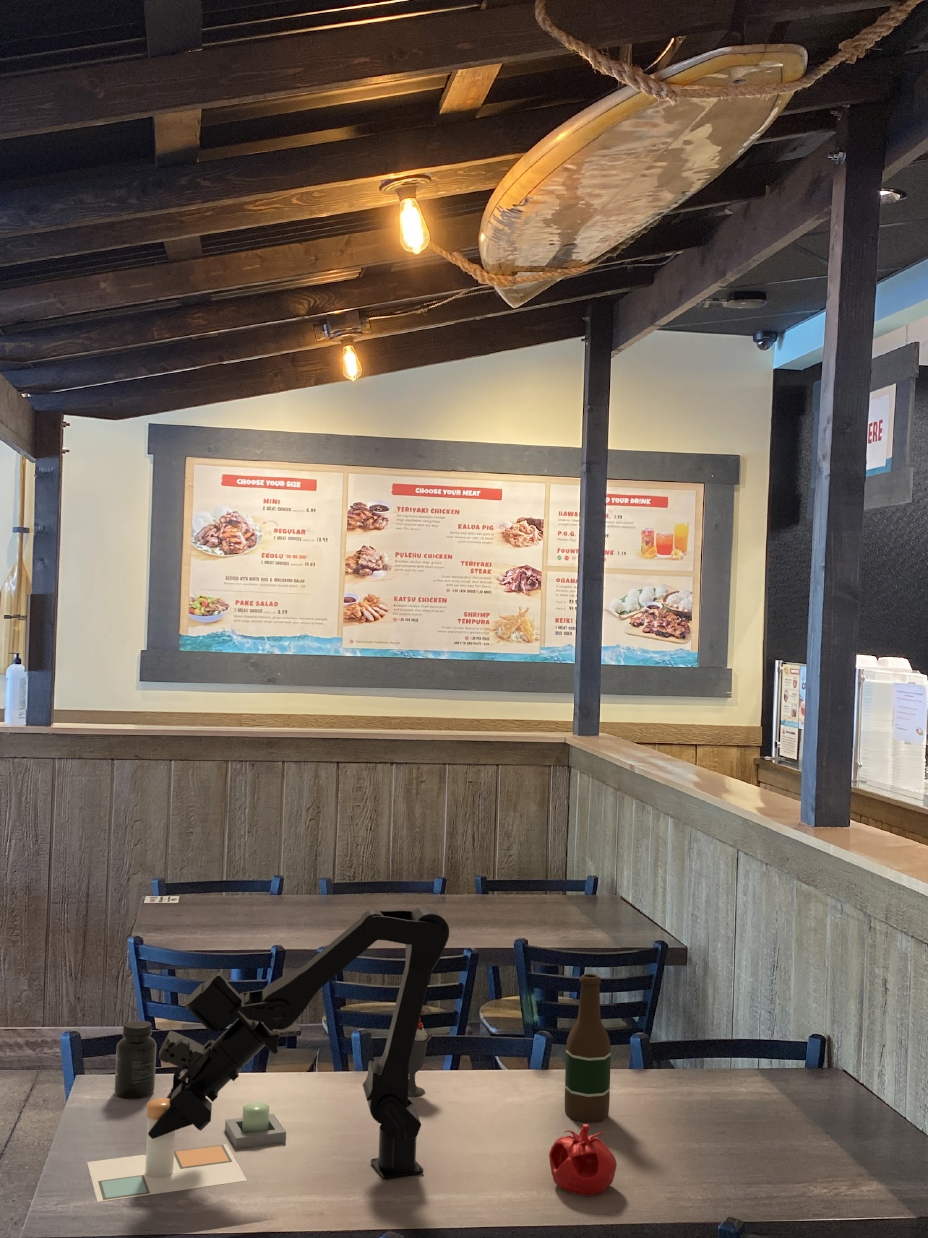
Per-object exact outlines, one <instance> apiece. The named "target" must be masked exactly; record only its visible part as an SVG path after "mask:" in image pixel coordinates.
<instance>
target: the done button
mask: <svg viewBox="0 0 928 1238" xmlns="http://www.w3.org/2000/svg"><path fill="white" fill-rule="evenodd" d="M269 1114H270V1105H269V1104H267V1103H264V1102H250V1103H246V1104H245V1105H243V1107H242V1118H243V1119H242V1133H243V1134H246V1133H254V1132H262V1131H269Z"/></svg>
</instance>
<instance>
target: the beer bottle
mask: <svg viewBox="0 0 928 1238" xmlns="http://www.w3.org/2000/svg"><path fill="white" fill-rule="evenodd" d="M579 983H580V993H579V1003H578V1005H579V1006H578V1014H577V1019H576V1022H575V1023H574V1025H573V1026H572V1027H571V1029H570V1031H569V1034H568V1037H567V1038H566V1047H565V1069H564V1070H565V1073H564V1074H565V1075H564V1076H565V1077H564V1078H565V1080H564V1112H565V1114H566V1115H567V1116H568V1118H570V1120H573V1121H576V1122H577V1121H578V1122H582V1123H584V1124H589V1123H601V1122H603V1121H604V1120H605V1119H606V1118H607V1117H608V1116H609V1112H610V1098H611V1097H610V1096H611V1095H610V1094H611V1093H610V1092H611V1091H610V1089H611V1062H612V1061H611V1055H612V1054H611V1052H612V1050H611V1048H612V1047H611V1040H610V1037H609V1034H608V1031H607V1030H606V1028H605V1026H604V1025H603V1023H602V1017H601V1004H600V1003H601V995H600V994H601V993H600V992H601V991H600V984H601V983H602V980H601V977H600V976H599V975H597V974H593V973H585V974H584V973H583V974H582V975H580V979H579Z"/></svg>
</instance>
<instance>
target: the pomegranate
mask: <svg viewBox="0 0 928 1238" xmlns="http://www.w3.org/2000/svg"><path fill="white" fill-rule="evenodd" d="M589 1130H590V1124H589V1123H584V1124H583V1125H582V1127H581V1129H580V1132H579V1134H578V1133H576V1132H575V1131H574V1130H570V1129H569V1130H565V1131H563V1133H570V1134H571V1135H565V1136H561V1137H559V1138H557V1139H555V1141H554V1142H553V1144H552V1146H551V1147H550V1150H549V1153H548V1157H549V1166H550V1171H551V1175H552V1179H553V1182H554V1183H555V1185H556V1186H557V1187H558V1188H559V1189H561V1190H562V1191H564V1192H567V1193H568V1192H569V1193H572V1194H575V1195H578V1196H585V1197H588V1196H598V1195H601V1194H603V1193H604V1192H605V1190H606V1189H607V1188H608V1187H609V1186H611V1185H612V1183H613V1181H614V1178H615V1176H616V1175H615V1174H616V1171H617V1166H618V1165H617V1160H616V1157H615V1156H614V1154H613V1152H612V1151H611V1150H610V1149H609V1148H608V1146H607V1145H606V1144H605V1143H604V1140H601V1139H600V1138H598V1137H597V1136H599V1135H605V1134H606V1133H607V1132H597V1133H595V1134H592V1135H589Z"/></svg>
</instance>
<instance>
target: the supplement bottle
mask: <svg viewBox="0 0 928 1238" xmlns="http://www.w3.org/2000/svg"><path fill="white" fill-rule="evenodd" d="M122 1028H123V1029H122V1030H123V1032H122V1037H123V1038H121V1039H120V1040H119V1041H118V1042H117V1044H116V1049H115V1050H116V1053H115V1069H114V1070H115V1071H114V1072H115V1074H114V1075H115V1076H114V1094H115V1096H117V1097H118V1098H120V1099H123V1100H140V1099H144V1098H146V1097H149V1096H151V1095H152V1094H153V1093H154V1090H155V1085H156V1084H155V1082H156V1081H155V1080H156V1066H157V1065H156V1064H157V1063H156V1061H157V1060H156V1059H157V1043H156V1040H155V1039H154V1038H152V1037H151V1036H152V1034H153V1032H152V1023H151V1022H150V1021H147V1020H133V1021H128V1022H125V1023H124V1024H123V1027H122Z"/></svg>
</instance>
